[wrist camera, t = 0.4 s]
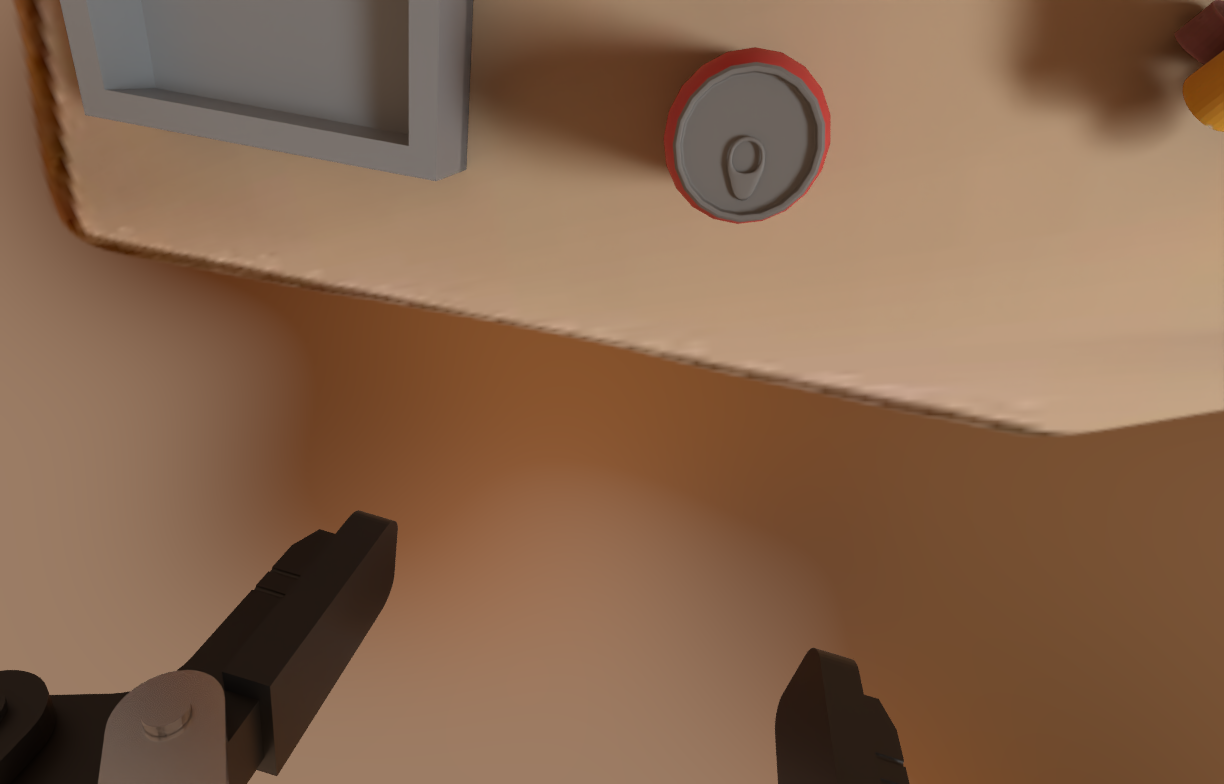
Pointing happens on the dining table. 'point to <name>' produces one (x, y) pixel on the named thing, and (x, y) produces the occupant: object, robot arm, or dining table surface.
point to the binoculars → (1205, 65)
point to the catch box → (286, 75)
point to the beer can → (747, 135)
